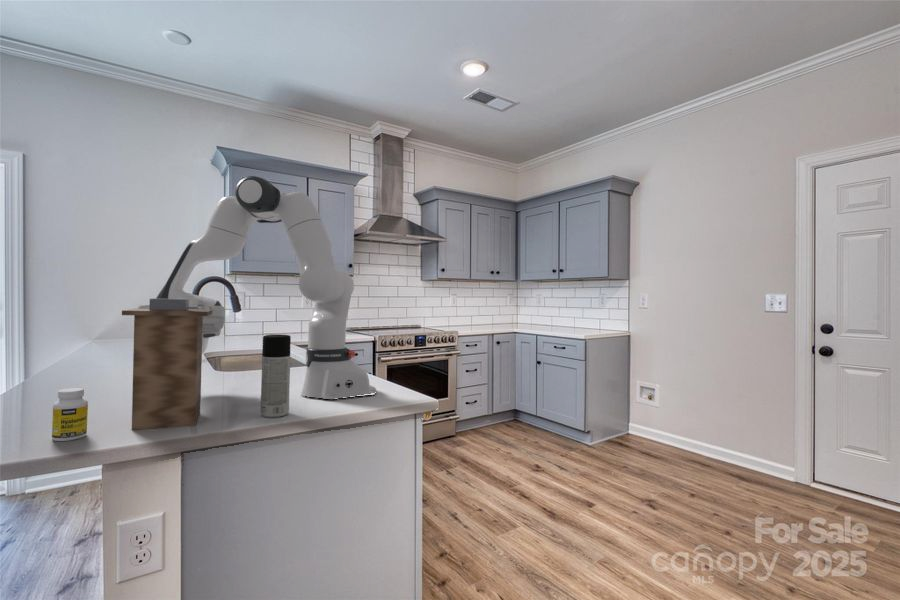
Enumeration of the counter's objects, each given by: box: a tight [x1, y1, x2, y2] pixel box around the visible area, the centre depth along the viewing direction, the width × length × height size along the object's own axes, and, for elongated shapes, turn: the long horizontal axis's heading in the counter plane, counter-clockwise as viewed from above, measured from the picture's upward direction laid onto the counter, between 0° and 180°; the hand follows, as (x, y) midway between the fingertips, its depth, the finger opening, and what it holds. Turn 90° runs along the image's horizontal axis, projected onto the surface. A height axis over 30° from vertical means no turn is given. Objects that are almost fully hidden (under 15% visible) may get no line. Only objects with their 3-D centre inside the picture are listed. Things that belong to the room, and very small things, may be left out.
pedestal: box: [121, 308, 213, 431], centre depth 101 cm, size 16×11×26 cm
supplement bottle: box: [51, 387, 89, 442], centre depth 89 cm, size 5×5×10 cm
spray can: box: [260, 334, 292, 419], centre depth 110 cm, size 7×7×20 cm
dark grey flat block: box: [148, 298, 189, 311], centre depth 106 cm, size 7×18×3 cm, turn 23°
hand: (179, 302), depth 111 cm, fingers open, 8 cm apart
